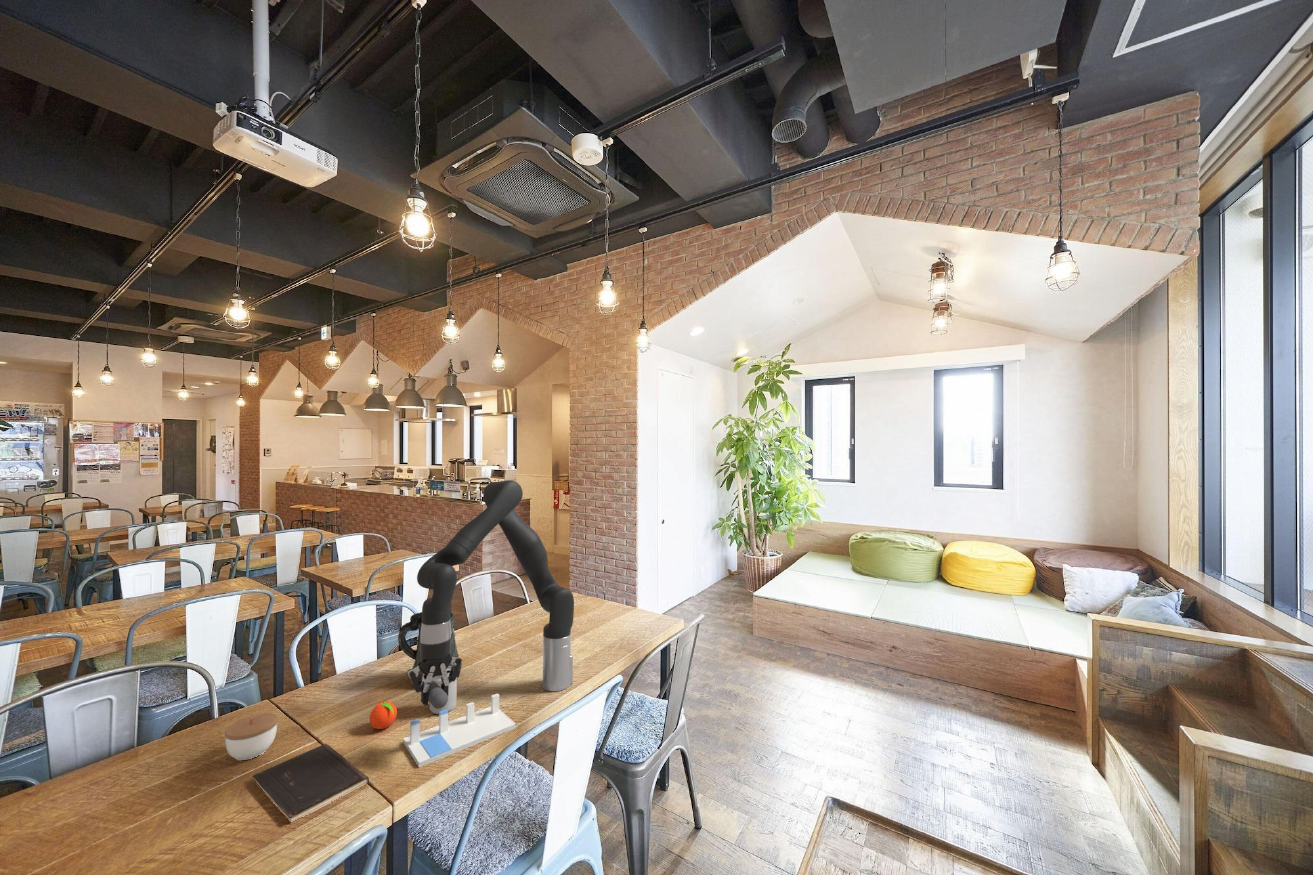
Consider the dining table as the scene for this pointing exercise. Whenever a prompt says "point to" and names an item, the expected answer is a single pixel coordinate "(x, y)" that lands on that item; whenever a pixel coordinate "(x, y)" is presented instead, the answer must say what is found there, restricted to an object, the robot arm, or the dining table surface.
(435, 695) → the dark grey rounded cylinder
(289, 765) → the hardcover book
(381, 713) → the clementine
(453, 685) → the can
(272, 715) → the lidded jar
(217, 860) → the dining table surface
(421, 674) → the beer stein
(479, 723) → the white peg board
